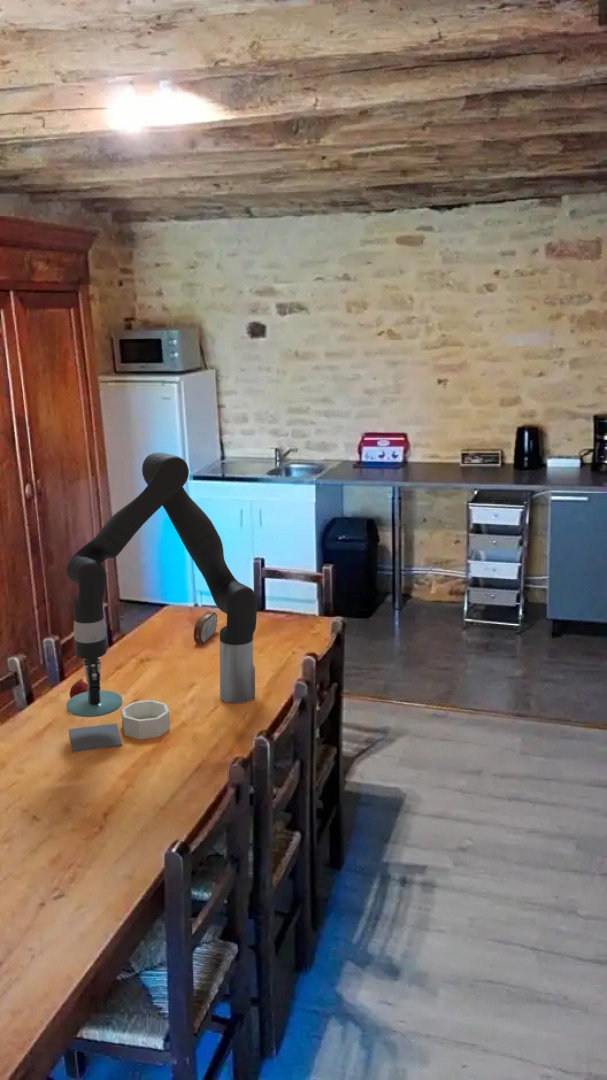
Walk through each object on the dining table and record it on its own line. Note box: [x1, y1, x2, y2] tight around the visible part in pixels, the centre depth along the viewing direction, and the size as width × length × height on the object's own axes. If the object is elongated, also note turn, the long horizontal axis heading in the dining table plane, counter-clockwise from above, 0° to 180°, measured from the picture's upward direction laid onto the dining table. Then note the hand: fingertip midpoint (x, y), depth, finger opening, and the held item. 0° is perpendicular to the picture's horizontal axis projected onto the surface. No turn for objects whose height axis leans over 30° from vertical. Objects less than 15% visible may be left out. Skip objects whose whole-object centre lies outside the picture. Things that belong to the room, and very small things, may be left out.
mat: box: [68, 722, 123, 753], centre depth 223 cm, size 12×12×1 cm
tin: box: [193, 610, 218, 644], centre depth 291 cm, size 15×3×8 cm, turn 164°
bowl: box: [120, 699, 171, 740], centre depth 228 cm, size 12×12×5 cm
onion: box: [69, 677, 88, 699], centre depth 240 cm, size 6×6×8 cm
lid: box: [65, 683, 123, 718], centre depth 220 cm, size 14×14×5 cm
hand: (94, 700), depth 221 cm, fingers closed on lid, 3 cm apart
